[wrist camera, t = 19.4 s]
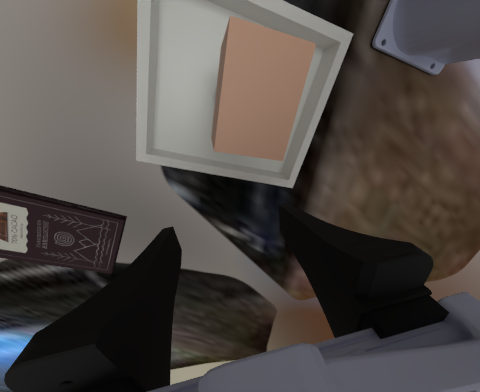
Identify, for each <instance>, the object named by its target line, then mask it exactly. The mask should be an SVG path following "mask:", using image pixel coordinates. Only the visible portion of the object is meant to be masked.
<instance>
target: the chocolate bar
mask: <svg viewBox="0 0 480 392" xmlns="http://www.w3.org/2000/svg"><path fill="white" fill-rule="evenodd" d="M126 219H127V216H124V215H120V214H116V213H112V212H107V211H104V210H100V209H96V208H91V207H87V206H83V205H79V204H75V203H71V202H67V201H63V200H58V199H54V198H50V197H46V196H42V195H38V194H34V193H30V192H26V191H21V190H17V189H14V188H9V187H5V186H1V185H0V258H6V259H13V260H20V261H27V262H34V263H41V264H48V265H55V266H62V267H68V268H75V269H82V270H89V271H96V272H103V273H110V274H111V273H112V271H113V269H114V265H115V262H116V259H117V255H118V251H119V247H120V243H121V239H122V235H123V231H124V227H125V222H126Z"/></svg>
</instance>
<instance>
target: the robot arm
mask: <svg viewBox="0 0 480 392" xmlns="http://www.w3.org/2000/svg"><path fill="white" fill-rule="evenodd" d="M382 41H383V44H382V45H381V42H382ZM372 46H373V47H374V48H375V49H378V50H380V51H382V52H384V53H386V54H388V55H391V56H393V57H395V58H397V59H399V60H401V61H403V62H406V63H408V64H410V65H412V66H414V67H416V68H419V69H421V70H423V71H425V72H427V73H429V74H431V75H437V74H439V73H440V72H441V71H442V69H443V67H444V66H445V64H449V63H455V62H461V61H467V60H473V59H479V58H480V0H390V2H389V4H388V7H387V9H386V11H385V14H384V16H383V18H382V20H381V23H380V25H379V27H378V30H377V32H376V34H375V37H374V39H373V42H372ZM430 66H431V67H430ZM279 218H280V230H281V233H282V235H283V237H284V239H285V241H286V243H287V245H288V246H289V248H290V249H291V251H292V253H293V254H294V256H295V257H296V259H297V260H298V262H299V264H300V265H301V267H302V268H303V270H304V272H305V274H306V276H307V278H308V280H309V282H310V284H311V286H312V288H313V290H314V292H315V294H316V296H317V298H318V300H319V302H320V305H321V307H322V309H323V311H324V314H325V316H326V318H327V320H328V323H329V325H330V327H331V330H332V332H333V334H334V337H335V338H334V339H331V340H327V341H324V342H320V343H317V344H313V345H311V344H307V343H301V344H294V345H289V346H286V347H282V348H279V349H275V350H272V351H268V352H264V353H261V354H257V355H254V356H250V357H247V358H243V359H239V360H236V361H232V362H229V363H225V364H222V365H220V366H218V367H215V368H213V369H211V370H209V371H208V372H207V373H206V374H205V375H204V376H201V377H197V378H194V379H190V380H187V381H184V382H180V383H176V384H173V385H170V362H171V339H172V322H173V310H174V301H175V295H176V289H177V284H178V279H179V273H180V267H181V254H182V252H181V251H182V250H181V247H180V244H179V242H178V239H177V236H176V234H175V231H174V228H173V227H169V228H164V229H162V231H161V232H160V233H159V234H158V235H157V236H156V238H155V239H154V240H153V241H152V242H151V243H150V244H149V245H148V247H147V248H146V249H145V250H144V251H143V252H142V253H141V254H140V255H139V256H138V257H137V258H136V259H135V260H134V261H133V262H132V263H131V264H130V265H129V266H128V267H127V268H126V269H125V270H124V271H123V272H122V273H121V274H120V275H118V276H117V277H116V278H115V279H114V280H113V281H111V282H110V283H109V284H108V285H106V286H105V287H104V288H102V289H101V290H100V291H99V292H97V293H96V294H95V295H93V296H92V297H91V298H89V299H88V300H87V301H85V302H84V303H82V304H81V305H79V306H78V307H76V308H75V309H74V310H72V311H71V312H69V313H68V314H66V315H64V316H63V317H61V318H60V319H58V320H56V321H55V322H53V323H52V324H50V325H48V326H47V327H45V328H44V329H42V330H40V331H39V332H37V333H35V335H34V336H33V337H32V339H31V340H30V341H29V343H28V344H27V345H26V347H25V348H24V350H23V351H22V352H21V354H20V355H19V356H18V358H17V359H16V360H15V362H14V363H13V364H12V366H11V367H10V368H9V370H8V371H7V373H6V374H5V378H4V381H5V383H6V385H7V387H8V388H9V389H11V390H12V391H14V392H480V301H479V300H477V299H476V298H475V297H473V296H472V295H470V294H469V293H468V292H462V293H458V294H455V295H451V296H447V297H444V298H442V299H440V300H439V301H438V302H437V301H435V300H434V299H433V298H432V297H431V296H429V295H431V294H432V292H431V290H429V289H428V288H427V287H426V286H424V283H425V282H426V280H427V278H428V276H429V274H430V272H431V270H432V268H433V259H432V257H431V256H430V255H428V254H427V253H425V252H424V251H422V250H421V249H420V248H418V247H417V246H415V245H414V244H412V243H409V242H402V241H396V240H389V239H383V238H378V237H374V236H369V235H365V234H361V233H357V232H353V231H350V230H347V229H343V228H341V227H338V226H335V225H332V224H330V223H327V222H325V221H322V220H320V219H318V218H316V217H314V216H312V215H309V214H307V213H306V212H304V211H302V210H300V209H298V208H296V207H294V206H292V205H290V204H288V203H287V204H282V205H279Z"/></svg>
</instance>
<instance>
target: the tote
mask: <svg viewBox="0 0 480 392" xmlns="http://www.w3.org/2000/svg"><path fill="white" fill-rule="evenodd" d="M137 9H138V10H137V11H138V13H137V111H136V114H137V115H136V119H137V120H136V161H141V162H146V163H152V164H158V165H163V166H169V167H175V168H180V169H186V170H192V171H197V172H203V173H209V174H215V175H220V176H226V177H232V178H238V179H243V180H249V181H255V182H260V183H266V184H272V185H278V186H283V187H289V188H293V186H294V183H295V181H296V178H297V175H298V173H299V170H300V168H301V165H302V163H303V160H304V158H305V155H306V153H307V150H308V148H309V145H310V143H311V140H312V137H313V135H314V132H315V130H316V127H317V125H318V122H319V120H320V117H321V115H322V112H323V110H324V107H325V105H326V102H327V99H328V97H329V94H330V92H331V89H332V87H333V84H334V82H335V79H336V77H337V74H338V72H339V69H340V67H341V64H342V62H343V59H344V56H345V54H346V51H347V49H348V46H349V44H350V41H351V39H352V36H353V33H351V32H348V31H346V30H344V29H342V28H340V27H338V26H336V25H334V24H332V23H329V22H327V21H325V20H323V19H321V18H319V17H317V16H315V15H312V14H310V13H308V12H306V11H304V10H302V9H300V8H298V7H296V6H293V5H291V4H289V3H287V2H285V1H283V0H138V8H137ZM230 16H233V17H236V18H240V19H243V20H246V21H249V22H252V23H255V24H258V25H261V26H264V27H267V28H270V29H273V30H276V31H279V32H283V33H286V34H289V35H292V36H295V37H298V38H301V39H304V40H307V41H310V42H313V43H316V47H315V50H314V54H313V57H312V61H311V64H310V68H309V71H308V75H307V78H306V82H305V85H304V89H303V92H302V96H301V99H300V103H299V106H298V110H297V113H296V117H295V120H294V124H293V127H292V131H291V134H290V138H289V141H288V145H287V148H286V152H285V155H284V159H283V161H279V160H271V159H264V158H257V157H250V156H243V155H236V154H229V153H222V152H215V151H214V149H213V144H212V139H211V134H212V125H213V116H214V103H213V96H214V91H215V88H216V86H217V79H218V70H219V61H220V52H221V45H222V42H223V38H224V35H225V31H226V28H227V24H228V21H229V18H230Z"/></svg>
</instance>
